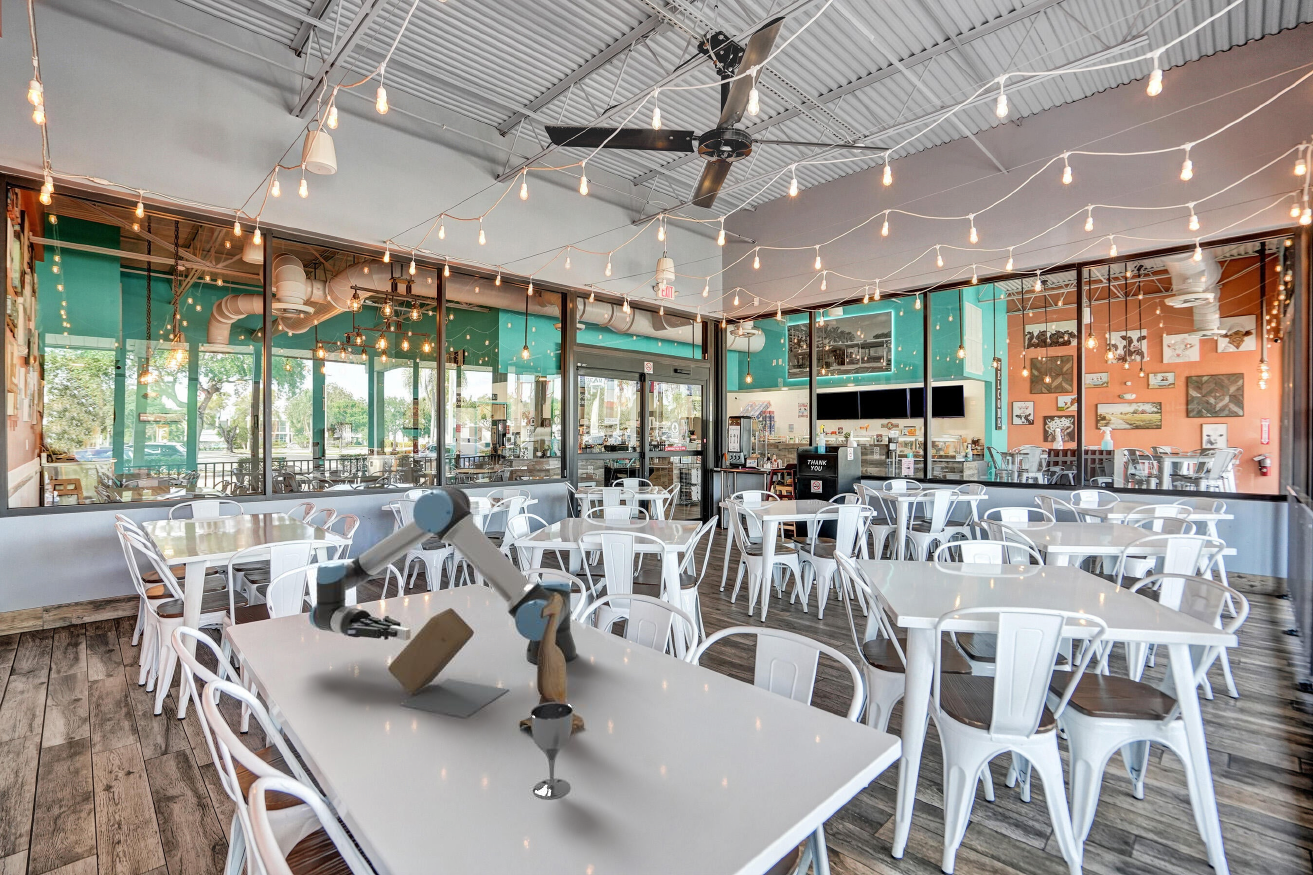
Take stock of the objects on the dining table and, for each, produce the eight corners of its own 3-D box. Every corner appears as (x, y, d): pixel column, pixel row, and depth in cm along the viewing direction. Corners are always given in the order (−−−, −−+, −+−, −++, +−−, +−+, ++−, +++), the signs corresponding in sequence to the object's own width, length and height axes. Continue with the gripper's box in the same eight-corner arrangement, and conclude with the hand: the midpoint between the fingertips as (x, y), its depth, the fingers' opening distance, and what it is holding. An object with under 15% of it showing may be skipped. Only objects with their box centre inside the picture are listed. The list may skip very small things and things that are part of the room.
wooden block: (410, 697, 163) (457, 643, 161) (385, 669, 165) (431, 615, 162) (431, 682, 173) (476, 631, 170) (407, 656, 174) (451, 605, 172)
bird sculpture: (516, 731, 145) (513, 594, 144) (555, 713, 154) (553, 583, 153) (548, 747, 138) (546, 602, 137) (586, 726, 147) (585, 591, 146)
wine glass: (533, 778, 124) (533, 702, 124) (573, 776, 125) (573, 701, 125) (528, 801, 116) (528, 720, 116) (571, 799, 117) (571, 718, 117)
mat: (508, 690, 168) (508, 689, 168) (465, 718, 151) (465, 716, 151) (448, 679, 175) (448, 678, 175) (400, 705, 158) (400, 704, 158)
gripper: (372, 629, 185) (427, 641, 173) (330, 641, 174) (387, 655, 162) (372, 603, 185) (427, 614, 173) (330, 614, 174) (387, 626, 162)
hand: (408, 634), depth 168 cm, fingers closed
